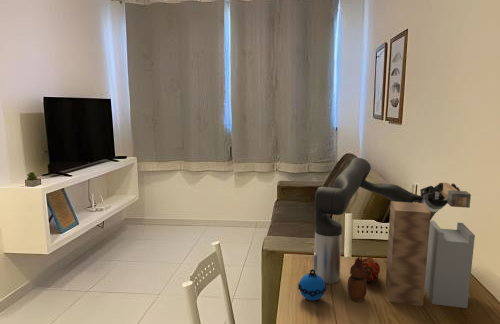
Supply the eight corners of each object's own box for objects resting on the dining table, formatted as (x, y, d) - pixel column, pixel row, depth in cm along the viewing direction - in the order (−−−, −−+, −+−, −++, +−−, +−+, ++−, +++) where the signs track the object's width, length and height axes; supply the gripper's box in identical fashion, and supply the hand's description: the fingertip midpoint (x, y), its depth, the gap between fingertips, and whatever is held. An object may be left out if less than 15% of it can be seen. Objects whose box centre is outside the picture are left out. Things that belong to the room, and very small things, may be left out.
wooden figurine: (366, 304, 116) (369, 259, 113) (347, 302, 117) (349, 257, 115) (364, 294, 122) (367, 251, 120) (346, 292, 123) (348, 249, 121)
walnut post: (388, 301, 118) (395, 210, 113) (385, 285, 128) (390, 201, 123) (422, 305, 115) (430, 212, 111) (416, 288, 126) (423, 203, 121)
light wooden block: (450, 206, 110) (452, 193, 109) (434, 190, 129) (435, 179, 128) (469, 207, 109) (470, 194, 108) (450, 191, 128) (451, 180, 127)
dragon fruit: (366, 292, 127) (363, 280, 138) (387, 279, 125) (383, 269, 137) (351, 270, 128) (350, 261, 139) (373, 258, 126) (369, 249, 138)
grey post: (432, 303, 116) (438, 232, 113) (424, 285, 128) (429, 220, 124) (467, 308, 114) (474, 235, 110) (456, 289, 126) (462, 222, 122)
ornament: (323, 292, 123) (324, 264, 121) (326, 306, 115) (327, 276, 113) (297, 291, 124) (298, 263, 122) (298, 305, 115) (299, 275, 114)
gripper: (414, 189, 141) (424, 174, 125) (455, 191, 138) (470, 176, 122) (415, 208, 139) (425, 195, 123) (456, 210, 135) (472, 198, 120)
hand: (447, 186), depth 123 cm, fingers closed on light wooden block, 3 cm apart
